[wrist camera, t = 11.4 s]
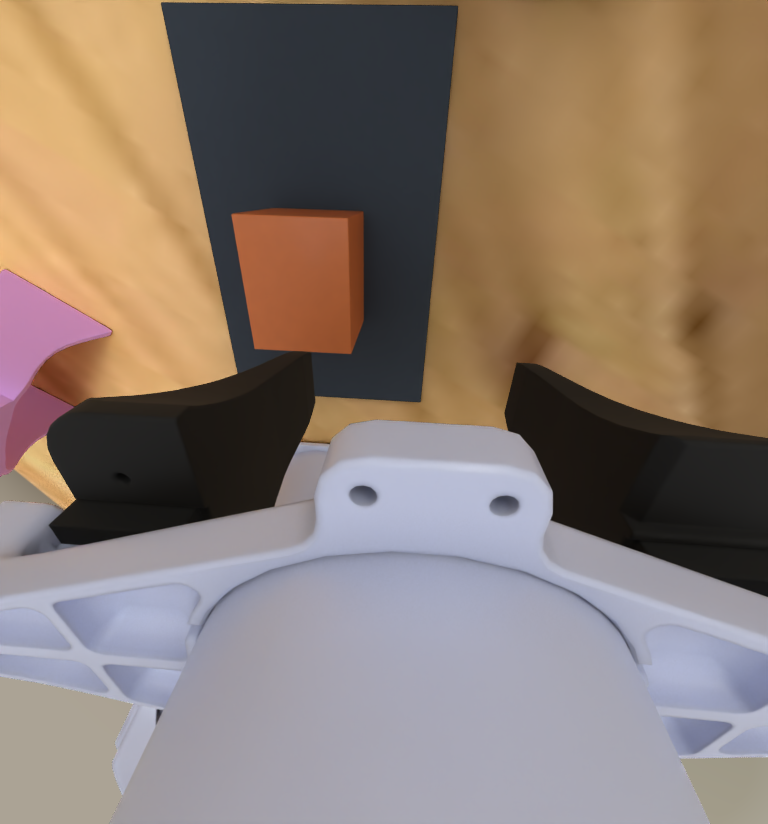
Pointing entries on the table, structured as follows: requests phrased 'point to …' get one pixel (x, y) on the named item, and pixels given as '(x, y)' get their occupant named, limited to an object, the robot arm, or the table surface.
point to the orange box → (302, 277)
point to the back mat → (325, 156)
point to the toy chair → (32, 361)
